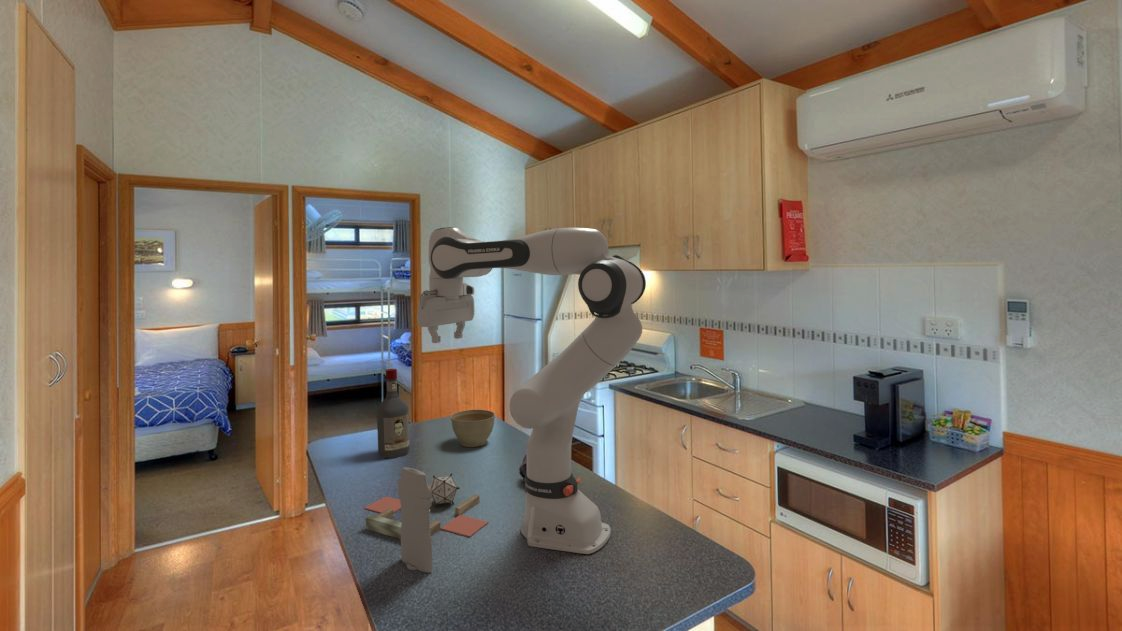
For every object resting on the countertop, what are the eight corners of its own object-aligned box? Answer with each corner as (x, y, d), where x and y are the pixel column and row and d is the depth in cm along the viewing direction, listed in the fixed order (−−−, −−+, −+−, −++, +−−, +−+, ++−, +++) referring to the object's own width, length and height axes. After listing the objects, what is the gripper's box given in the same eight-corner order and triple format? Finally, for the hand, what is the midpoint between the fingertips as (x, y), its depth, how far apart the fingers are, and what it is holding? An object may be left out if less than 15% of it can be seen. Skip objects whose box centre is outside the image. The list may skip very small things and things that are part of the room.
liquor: (376, 453, 187) (373, 369, 184) (400, 447, 193) (397, 366, 190) (387, 460, 180) (384, 373, 177) (412, 453, 186) (409, 369, 184)
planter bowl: (490, 434, 207) (490, 407, 206) (499, 448, 192) (498, 418, 191) (449, 439, 202) (448, 411, 201) (454, 453, 187) (453, 423, 186)
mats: (488, 523, 136) (488, 521, 136) (469, 537, 129) (469, 536, 129) (385, 497, 151) (385, 496, 151) (364, 508, 144) (364, 507, 144)
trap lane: (479, 502, 148) (479, 491, 148) (418, 544, 126) (418, 532, 125) (431, 491, 155) (431, 481, 155) (366, 529, 133) (365, 517, 133)
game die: (447, 518, 146) (449, 500, 140) (420, 505, 147) (421, 486, 141) (463, 492, 153) (466, 473, 146) (437, 480, 154) (439, 461, 148)
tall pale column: (393, 561, 118) (390, 466, 116) (408, 553, 122) (405, 460, 120) (425, 577, 112) (422, 477, 110) (440, 568, 116) (437, 471, 114)
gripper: (430, 291, 131) (431, 346, 132) (477, 287, 149) (478, 336, 150) (410, 290, 133) (411, 344, 135) (459, 287, 152) (460, 335, 153)
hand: (447, 340), depth 143 cm, fingers open, 8 cm apart
